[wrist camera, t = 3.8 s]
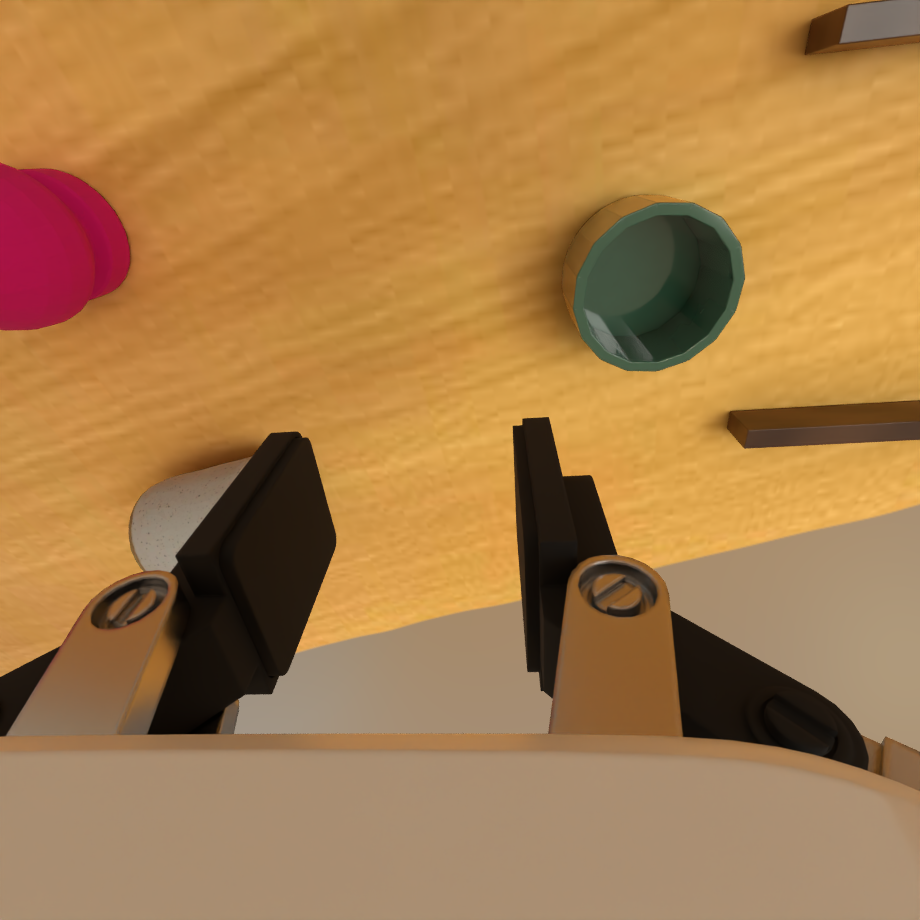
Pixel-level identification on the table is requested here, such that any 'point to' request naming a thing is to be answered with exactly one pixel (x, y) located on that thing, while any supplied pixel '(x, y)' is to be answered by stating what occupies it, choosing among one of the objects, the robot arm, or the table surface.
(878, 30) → the walnut bay
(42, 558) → the table surface
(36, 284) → the pepper mill
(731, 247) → the green cup
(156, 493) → the ceramic mug
